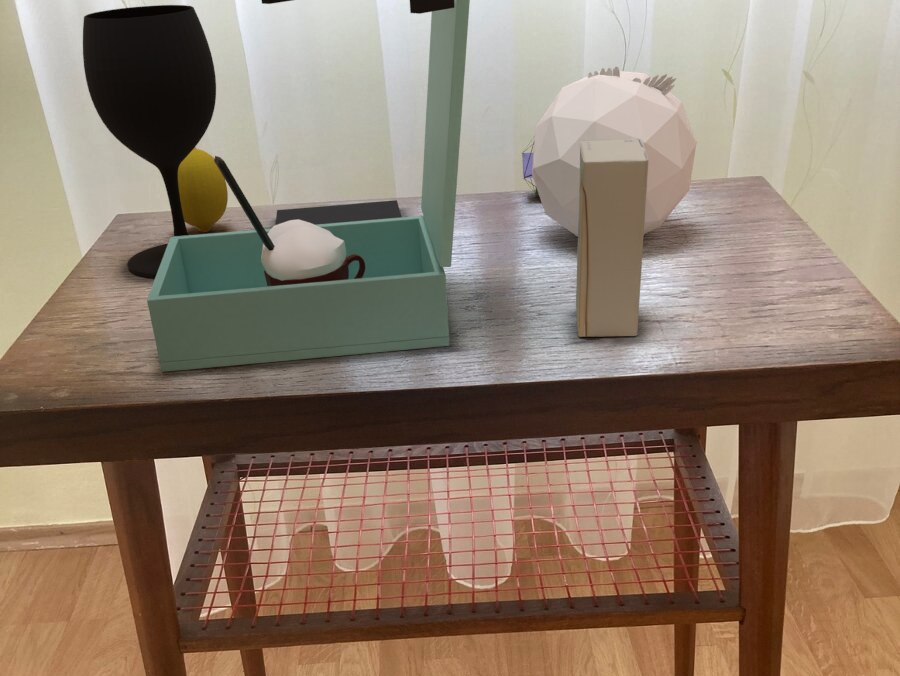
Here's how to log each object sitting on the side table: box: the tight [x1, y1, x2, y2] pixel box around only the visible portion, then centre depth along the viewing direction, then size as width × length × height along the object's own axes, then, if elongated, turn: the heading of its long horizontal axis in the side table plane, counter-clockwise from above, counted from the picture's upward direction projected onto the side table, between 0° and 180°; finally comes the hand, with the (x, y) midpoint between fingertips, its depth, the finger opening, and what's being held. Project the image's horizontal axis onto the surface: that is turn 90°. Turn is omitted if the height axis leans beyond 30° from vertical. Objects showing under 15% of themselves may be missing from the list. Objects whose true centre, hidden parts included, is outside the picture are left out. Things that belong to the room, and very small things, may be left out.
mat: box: [275, 199, 402, 225], centre depth 105 cm, size 12×12×1 cm
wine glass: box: [82, 4, 217, 279], centre depth 94 cm, size 10×10×20 cm
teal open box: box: [146, 215, 451, 373], centre depth 83 cm, size 20×15×5 cm
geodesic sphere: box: [532, 66, 698, 237], centre depth 94 cm, size 15×14×14 cm
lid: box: [420, 0, 471, 268], centre depth 76 cm, size 21×15×4 cm
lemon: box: [178, 146, 229, 233], centre depth 105 cm, size 6×6×8 cm
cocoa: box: [214, 155, 365, 286], centre depth 81 cm, size 10×6×12 cm, turn 91°
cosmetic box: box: [575, 138, 648, 338], centre depth 77 cm, size 6×4×12 cm
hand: (353, 6), depth 65 cm, fingers open, 13 cm apart
